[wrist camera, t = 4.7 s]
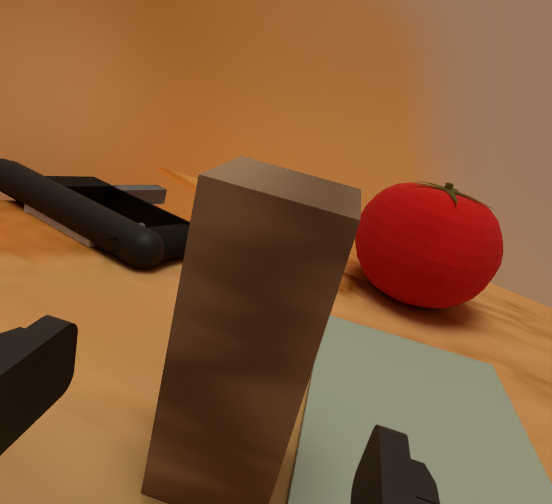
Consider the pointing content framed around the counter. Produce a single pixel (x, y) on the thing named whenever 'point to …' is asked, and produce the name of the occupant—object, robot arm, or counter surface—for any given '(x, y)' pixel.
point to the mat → (411, 420)
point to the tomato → (428, 244)
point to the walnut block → (246, 329)
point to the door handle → (101, 213)
